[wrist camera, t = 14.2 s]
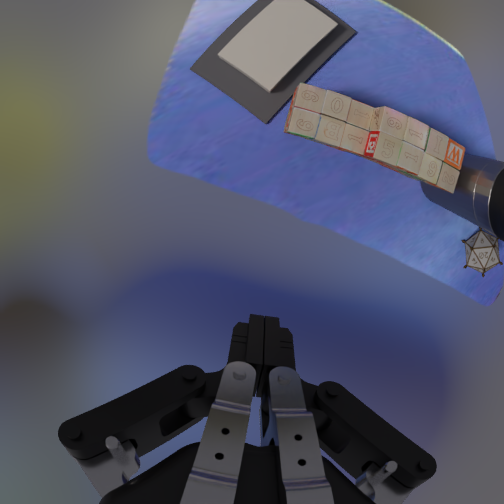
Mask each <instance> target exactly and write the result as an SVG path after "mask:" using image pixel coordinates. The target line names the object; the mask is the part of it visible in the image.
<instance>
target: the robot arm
mask: <svg viewBox="0 0 504 504" xmlns="http://www.w3.org/2000/svg"><path fill="white" fill-rule="evenodd" d="M459 172H460V173H459V177H458V180H457V183H456V186H455V190H454V193H450V192H447V191H445V190H442V189H440V188H437V187H434V186H432V185H429V184H427V183H425V182H422V181H420V183H421V187H422V190H423V192H424V194H425V195H426V197H427V198H428V199H429V200H430V201H432V202H434V203H436V204H438V205H440V206H442V207H444V208H445V209H447V210H449V211H451V212H453V213H455V214H457V215H459V216H461V217H462V218H464V219H466V220H468V221H470V222H472V223H473V224H475V225H477V226H479V227H480V228H482V229H484V230H486V231H488V232H489V233H491V234H493V235H494V236H496V237H497V238H499V239H500V240H502V241H504V162H501V161H497V160H492V159H488V158H484V157H479V156H474V155H469V154H464V157H463V161H462V165H461V169H460V170H459ZM256 390H257V391H256ZM256 392H257V393H256ZM255 394H256V397H261V406H260V409H259V416H260V436H261V446H260V447H257V446H253V445H251V444H248V443H245V439H246V433H247V427H248V422H249V417H250V408H251V402H252V397H255ZM207 416H208V419H207V422H206V425H205V429H204V432H203V435H202V439H201V442H196V443H193V444H189V445H186V446H184V447H182V448H181V449H179V450H177V451H176V452H175V453H173V454H172V455H170V456H169V457H167V458H166V459H164V460H162V461H161V462H159V463H158V464H156V465H155V466H153V467H151V468H150V469H148V470H147V471H145V472H143V473H142V474H140V475H138V476H137V477H135V478H133V479H132V480H130V481H129V479H130V477H131V476H132V475H133V474H135V473H136V472H137V471H138V469H139V468H140V459H139V457H141V456H143V455H145V454H146V453H148V452H150V451H152V450H154V449H155V448H157V447H159V446H160V445H162V444H164V443H165V442H167V441H169V440H171V439H172V438H174V437H175V436H177V435H179V434H180V433H182V432H183V431H185V430H187V429H188V428H190V427H191V426H193V425H194V424H196V423H198V422H199V421H201V420H202V419H203V417H207ZM58 437H59V440H60V441H61V443H62V444H63V445H64V447H65V448H66V449H67V451H68V453H69V454H70V455H71V456H72V457H73V459H74V460H75V461H76V462H77V463H78V464H79V465H80V466H81V467H82V469H83V471H84V472H85V474H86V475H87V477H88V478H89V480H90V481H91V482H92V484H93V486H94V487H95V489H96V490H97V491H98V493H99V494H100V496H101V497H102V499H101V501H100V503H99V504H402V503H403V502H404V500H405V499H406V498H407V497H408V495H409V494H410V493H411V492H412V490H413V489H415V488H417V487H418V486H419V485H421V484H422V483H424V482H425V481H427V480H428V479H429V478H431V477H432V476H433V475H434V473H435V472H436V468H437V465H436V461H435V459H434V458H433V457H432V456H431V455H430V454H429V453H427V452H426V451H425V450H423V449H422V448H420V447H419V446H418V445H416V444H415V443H414V442H412V441H411V440H410V439H408V438H407V437H406V436H404V435H403V434H402V433H400V432H399V431H398V430H397V429H395V428H394V427H393V426H391V425H390V424H389V423H388V422H386V421H385V420H384V419H383V418H381V417H380V416H379V415H377V414H376V413H375V412H373V411H372V410H371V409H370V408H369V407H367V406H366V405H365V404H364V403H362V402H361V401H360V400H359V399H357V398H356V397H355V396H354V395H353V394H351V393H350V392H349V391H348V390H346V389H345V388H344V387H343V386H342V385H340V384H338V383H336V382H332V381H327V382H323V383H321V384H320V385H319V386H316V385H313V384H310V383H307V382H305V381H303V380H302V379H301V378H300V376H299V374H298V373H297V372H296V368H295V358H294V346H293V336H292V334H291V332H290V331H289V329H288V328H281V327H280V325H279V318H277V317H270V316H265V317H264V316H261V315H254V314H250V318H249V323H241V322H238V323H237V324H236V326H235V327H234V328H233V334H232V339H231V345H230V351H229V356H228V362H227V365H226V366H225V367H224V368H223V369H222V370H220V371H217V372H213V373H205V372H204V371H203V370H202V369H201V368H199V367H197V366H194V365H184V366H181V367H178V368H177V369H175V370H173V371H171V372H169V373H167V374H165V375H163V376H161V377H159V378H157V379H155V380H153V381H151V382H150V383H147V384H146V385H143V386H141V387H139V388H137V389H135V390H133V391H131V392H129V393H127V394H125V395H123V396H121V397H119V398H117V399H114V400H112V401H110V402H108V403H106V404H103V405H101V406H99V407H97V408H94V409H92V410H90V411H88V412H85V413H83V414H81V415H79V416H76V417H74V418H71V419H69V420H67V421H65V422H64V423H62V424H61V426H60V427H59V430H58ZM320 448H321V449H322V450H323V451H325V452H326V453H327V454H328V455H329V456H330V457H331V458H332V459H333V460H334V461H335V462H336V463H338V464H339V465H340V466H341V467H342V468H343V469H344V470H346V471H347V472H348V473H349V474H350V475H351V476H353V477H354V478H355V479H356V483H355V485H354V484H353V483H352V482H351V481H350V480H349V479H348V478H347V477H346V476H345V475H344V474H343V473H342V472H341V471H339V470H338V469H337V468H336V467H335V466H334V465H333V464H332V463H331V462H330V461H329V460H327V459H326V458H325V457H323V456H322V455H321V452H320Z"/></svg>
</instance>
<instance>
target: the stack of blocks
mask: <svg viewBox="0 0 504 504" xmlns="http://www.w3.org/2000/svg"><path fill="white" fill-rule="evenodd" d="M284 132H285V133H289V134H292V135H296V136H300V137H303V138H305V139H308V140H311V141H314V142H318V143H321V144H324V145H327V146H330V147H333V148H336V149H339V150H342V151H346V152H349V153H352V154H354V155H357V156H360V157H363V158H365V159H368V160H370V161H373V162H376V163H378V164H380V165H382V166H384V167H387V168H389V169H392V170H394V171H396V172H398V173H400V174H403V175H405V176H407V177H409V178H412V179H415V180H418V181H422V182H425V183H427V184H429V185H432V186H434V187H437V188H440V189H442V190H445V191H447V192H450V193H454V190H455V186H456V183H457V180H458V177H459V173H460V172H459V170H460V169H461V165H462V161H463V157H464V153H465V147H463V146H462V145H460V144H458V143H457V142H455V141H453V140H452V139H450V138H449V137H448V136H446V135H444V134H442V133H440V132H439V131H437V130H435V129H433V128H430V127H429V126H428V125H426V124H424V123H422V122H420V121H418V120H416V119H414V118H412V117H409V116H407V115H405V114H403V113H401V112H398V111H396V110H394V109H391V108H389V107H387V106H383V107H377V108H374V107H372V106H369V105H367V104H364V103H362V102H359V101H357V100H354V99H352V98H350V97H348V96H345V95H342V94H340V93H337V92H334V91H331V90H324V89H322V88H318V87H315V86H312V85H308V84H305V83H300V84H299V85H298V86H297V88H296V89H295V92H294V94H293V97H292V101H291V105H290V109H289V112H288V115H287V119H286V123H285V127H284Z"/></svg>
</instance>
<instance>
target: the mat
mask: <svg viewBox="0 0 504 504" xmlns="http://www.w3.org/2000/svg"><path fill="white" fill-rule="evenodd" d="M273 1H274V0H258V1H256V2H255V3H254V4H253V5H252V6H251V7H249V8H248V9H247V10H246V11H245V12H244V13H243V14H242V15H241V16H240V17H239V18H237V19H236V20H235V21H234V22H233V23H232V24H231V25H230V26H229V27H228V28H227V29H226V30H225V31H224V32H223V33H222V34H221V35H220V36H219V37H218V38H217V39H216V40H215V41H214V42H213V43H212V45H211V46H210V47H209V48H208V49H207V50H206V51H205V52H204V53H203V54H202V55H201V57H200V58H199V59H198V60H197V61H196V62H195V63H194V65H193V66H192V67H191V68H190V70H192V71H193V72H195V73H196V74H198V75H199V76H201V77H202V78H204V79H205V80H207V81H208V82H210V83H211V84H212V85H214V86H215V87H217V88H218V89H220V90H221V91H222V92H224V93H225V94H227V95H228V96H229V97H231V98H232V99H233V100H235V101H236V102H238V103H239V104H240V105H242V106H243V107H244V108H246V109H247V110H248V111H249V112H251V113H252V114H253V115H255V116H256V117H257V118H258V119H260V120H261V121H262V122H264V123H265V124H266V123H267V122H268V121H269V120H270V119H271V118H272V116H273V115H274V114H275V113H276V112H277V111H278V110H279V109H280V108H281V107H282V105H283V104H284V103H285V102H286V101H287V100H288V99H289V98H290V97H291V96H292V95H293V94H294V92H295V89H296V88H297V86H298V85H299V84H300V83H304V82H305V81H306V80H307V79H308V78H309V77H310V76H311V75H312V74H313V73H314V72H315V71H316V70H317V69H318V68H319V67H320V66H321V65H322V64H323V63H324V62H325V61H326V60H327V59H328V58H329V57H330V56H331V55H332V54H333V53H334V52H335V51H336V50H337V49H338V48H339V47H340V46H341V45H343V44H344V43H345V42H346V41H347V40H348V39H349V38H350V37H351V36H352V35H353V34H354V33H355V32H356V31H355V30H353V29H352V28H351V27H350V26H348V25H347V24H346V23H345V22H343V21H342V20H341V19H339V18H338V17H337V16H335V15H334V14H333V13H331V12H330V11H329V10H327V9H326V8H324V7H323V6H322V5H320V4H319V3H317V2H316V1H314V0H305V1H306V2H308V3H309V4H311V5H312V6H314V7H315V8H317V9H318V10H320V11H321V12H322V13H324V14H325V15H327V16H328V17H329V18H331V19H332V20H333V21H335V22H336V23H337V24H338V25H337V26H336V28H335V29H334V30H333V31H332V32H331V33H329V34H328V35H327V36H326V37H325V38H324V39H323V40H322V41H321V42H320V43H319V44H318V45H317V46H315V47H314V48H313V49H312V50H311V51H310V52H309V53H308V54H307V55H306V56H305V57H304V58H303V59H302V60H301V61H300V62H299V63H298V64H297V65H296V66H295V67H294V68H293V69H292V70H291V71H290V72H289V73H288V74H287V75H286V76H285V77H284V78H283V79H282V80H281V82H280V83H279V84H278V85H277V86H276V87H275V88H274V89H273V90H272V91H271V92H270V93H269V92H267V91H266V90H265V89H263V88H262V87H261V86H259V85H258V84H257V83H255V82H254V81H253V80H251V79H250V78H249V77H247V76H246V75H244V74H243V73H241V72H240V71H239V70H237V69H236V68H234V67H233V66H231V65H230V64H228V63H227V62H225V61H224V60H222V59H221V58H219V56H218V53H219V52H220V51H221V50H222V49H223V48H224V47H225V46H226V45H227V44H228V43H229V42H230V41H231V40H232V39H233V38H234V37H235V36H236V35H237V34H238V33H239V32H240V31H241V30H242V29H243V28H244V27H245V26H246V25H247V24H248V23H249V22H250V21H251V20H252V19H253V18H254V17H256V16H257V15H258V14H259V13H260V12H261V11H262V10H263V9H264V8H266V7H267V6H268V5H269V4H270V3H271V2H273Z"/></svg>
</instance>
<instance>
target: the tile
mask: <svg viewBox="0 0 504 504" xmlns="http://www.w3.org/2000/svg"><path fill="white" fill-rule="evenodd" d="M337 25H338V24H337V23H336V22H335V21H333V20H332V19H331V18H329V17H328V16H327V15H325V14H324V13H322V12H321V11H320V10H318V9H317V8H315V7H314V6H312V5H311V4H309V3H308V2H306V1H305V0H274V1H273V2H271V3H270V4H269V5H268V6H267V7H266V8H264V9H263V10H262V11H261V12H260V13H259V14H258V15H257V16H256V17H254V18H253V19H252V20H251V21H250V22H249V23H248V24H247V25H246V26H245V27H244V28H243V29H242V30H241V31H240V32H239V33H238V34H237V35H236V36H235V37H234V38H233V39H232V40H231V41H230V42H229V43H228V44H227V45H226V46H225V47H224V48H223V49H222V50H221V51H220V52H219V53H218V56H219V58H221V59H222V60H224V61H225V62H227V63H228V64H230V65H231V66H233V67H234V68H236V69H237V70H239V71H240V72H241V73H243V74H244V75H246V76H247V77H249V78H250V79H251V80H253V81H254V82H255V83H257V84H258V85H259V86H261V87H262V88H263V89H265V90H266V91H267V92H269V93H270V92H271V91H272V90H273V89H274V88H275V87H276V86H277V85H278V84H279V83H280V82H281V80H282V79H283V78H284V77H285V76H286V75H287V74H288V73H289V72H290V71H291V70H292V69H293V68H294V67H295V66H296V65H297V64H298V63H299V62H300V61H301V60H302V59H303V58H304V57H305V56H306V55H307V54H308V53H309V52H310V51H311V50H312V49H313V48H314V47H315V46H317V45H318V44H319V43H320V42H321V41H322V40H323V39H324V38H325V37H326V36H327V35H328V34H329V33H331V32H332V31H333V30H334V29H335V28H336V26H337Z"/></svg>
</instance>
